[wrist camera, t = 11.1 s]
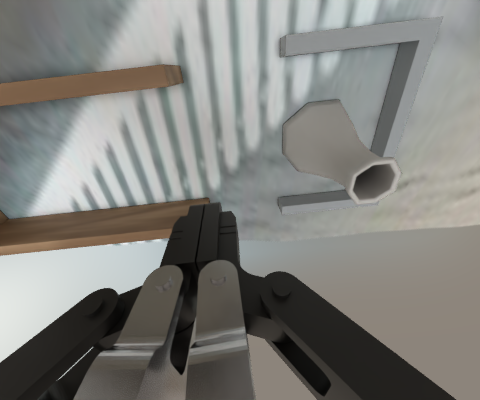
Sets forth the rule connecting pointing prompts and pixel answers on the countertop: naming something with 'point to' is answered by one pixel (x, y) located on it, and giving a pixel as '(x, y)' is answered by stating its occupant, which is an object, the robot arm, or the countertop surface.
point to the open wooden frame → (96, 221)
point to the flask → (338, 152)
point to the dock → (397, 97)
